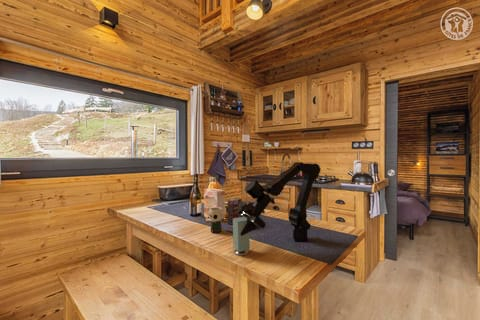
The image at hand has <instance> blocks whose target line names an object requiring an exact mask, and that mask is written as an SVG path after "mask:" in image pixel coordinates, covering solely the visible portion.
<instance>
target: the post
mask: <svg viewBox="0 0 480 320" xmlns="http://www.w3.org/2000/svg"><path fill="white" fill-rule="evenodd" d="M249 251H250V250H245V251H241V252H238V251H237V250H236V249H235V248H234V251H233V253H234V254H235V255H236V256H246V255H248V254H249Z"/></svg>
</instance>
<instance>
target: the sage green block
mask: <svg viewBox="0 0 480 320" xmlns="http://www.w3.org/2000/svg"><path fill="white" fill-rule="evenodd" d="M246 224H247V218H245V217H239V218H233V227H232V238H233V240H232V241H233V243H232V244H233V248H234V250H235V249H236V250H237V251H238V252H241V251H245V250H248V251H250V232H249V233H247V234H245V235H243V236H241V235H240V234H241V232H242V230H243V229H244V227H245V226H246Z"/></svg>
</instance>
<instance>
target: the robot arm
mask: <svg viewBox="0 0 480 320" xmlns="http://www.w3.org/2000/svg"><path fill="white" fill-rule="evenodd" d="M300 172H301V174H302V177H303V179H302V183H301V186H300V189H299V194H298V196H297V200H296V204H295V206H294V207H289V208H290V209H289V212H288V215H287V216H288V221H289V222H290V225H291V227H292V226H293V229H292V239H293V241H294V242H301V243H308V242H309V239H308V230H310V229H311V224H310V222H309V221H308V220H307V217H308V215H307V211H306V208H307V205H308V203H309V198H310V194H311V191H312V188H313V185H314V182H315V180H317V179H318V177H319V176H320V173H321V166H320V164H318V163H314V162H313V163H311V162H309V163H303V162H300V161H295V162H293V164H292V165H291V166H290V167H288V168H287V169H286V170H285V171H283V172H282V174H280V175H279V176H278V177H277V178H274V179H272V180H269V181H268V182H267V183H266V184H264V185H261V184H260V183H259V182H258V180H257V179H253V180H252V181H251V182H249V183H247V184H246V185H245V187H244V191H245V192H246V193H247V195H249V196H250V197H251V198H252V199H254V202H253V201H252V202H251V201H248V200H247V202H246V201H243V200H242V201H241V200H240V202H239V204H238V207H239V208H238V210H237V212H238V215H239V217H245V218H247V224H246V226H245V227H244V229H243V230H242V232H241V234H240V235H241V236H243V235H245V234H247V233H249V234H250V232H253V231H255V230H258V229H261V230H264V229H265V227H266V226H267V225H266V222H265V221H264V220H263V218H261V217H260V216H261V215H262V214H265V213H266V211H265V210H266V208H267V207H268V206H269V205H270V204H273V205H275V197H277V196H279V195H280V194H281V193H282V192H283V190H284V189H285V186H286V184H287V183H289V182H290V181H291V180H292V179H293V178H295V177H296V176H297V175H298V174H299V173H300ZM272 196H273V197H272Z"/></svg>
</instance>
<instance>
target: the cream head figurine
mask: <svg viewBox="0 0 480 320" xmlns="http://www.w3.org/2000/svg"><path fill="white" fill-rule="evenodd" d="M208 216H209V218H210V219H209V218H208V219H209V220H210V221H211V223H210V232H211V233H214V234H215V233H220V232H221V231H222V229H223V228H222V223H221V221H223V220H222V219H224V213H222V208H220V207H214V208H210V211H208ZM222 216H223V217H222ZM220 220H221V221H220ZM224 220H225V219H224Z"/></svg>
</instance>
